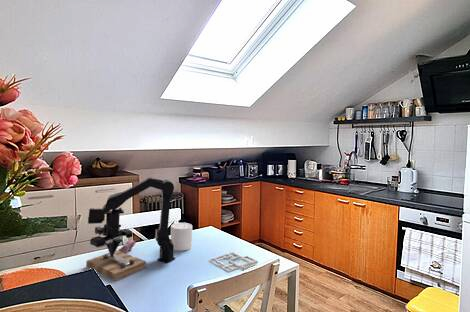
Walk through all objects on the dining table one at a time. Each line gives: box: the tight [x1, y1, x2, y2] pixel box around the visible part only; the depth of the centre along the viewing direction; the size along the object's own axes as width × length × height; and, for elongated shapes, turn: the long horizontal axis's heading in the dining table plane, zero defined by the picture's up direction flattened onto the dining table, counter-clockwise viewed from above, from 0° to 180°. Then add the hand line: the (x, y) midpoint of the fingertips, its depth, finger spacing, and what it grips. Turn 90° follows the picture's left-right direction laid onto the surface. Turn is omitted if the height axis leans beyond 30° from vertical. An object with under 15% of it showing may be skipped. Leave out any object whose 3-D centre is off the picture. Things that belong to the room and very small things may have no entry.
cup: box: [170, 222, 193, 252], centre depth 167 cm, size 12×12×12 cm
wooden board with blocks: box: [85, 249, 147, 282], centre depth 139 cm, size 22×16×3 cm
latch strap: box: [107, 254, 131, 266], centre depth 138 cm, size 14×3×1 cm, turn 57°
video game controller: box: [118, 239, 137, 254], centre depth 158 cm, size 10×5×7 cm, turn 169°
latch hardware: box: [102, 252, 134, 268], centre depth 139 cm, size 16×6×2 cm, turn 57°
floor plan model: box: [208, 251, 259, 273], centre depth 151 cm, size 19×25×2 cm
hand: (111, 255), depth 141 cm, fingers closed, pressing on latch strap
